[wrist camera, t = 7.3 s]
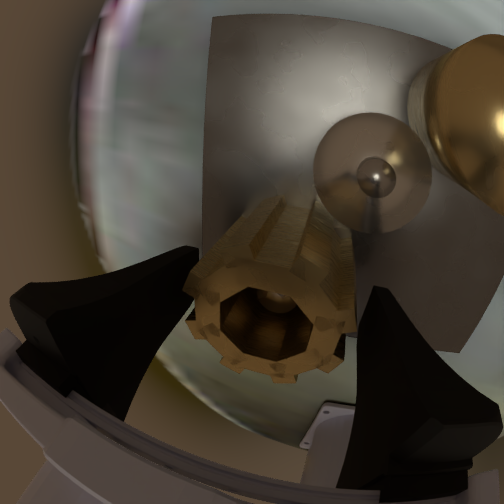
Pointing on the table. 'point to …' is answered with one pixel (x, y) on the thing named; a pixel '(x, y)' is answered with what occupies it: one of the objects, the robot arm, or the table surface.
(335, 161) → the plate
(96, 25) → the table surface
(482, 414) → the robot arm
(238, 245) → the gear
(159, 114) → the table surface
